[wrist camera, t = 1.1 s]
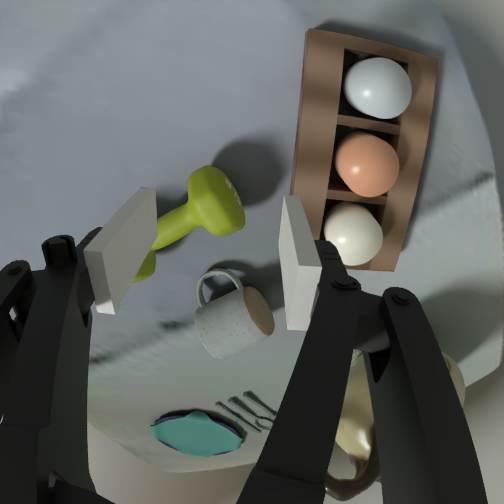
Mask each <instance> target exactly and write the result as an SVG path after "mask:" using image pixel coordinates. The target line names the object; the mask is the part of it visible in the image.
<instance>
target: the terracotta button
mask: <svg viewBox="0 0 504 504" xmlns="http://www.w3.org/2000/svg"><path fill="white" fill-rule="evenodd" d="M333 160H334V166H335V169H336V171H337V173H338V174H339V176H340V177H341V178H342V179H343V180H344V182H345V183H346V184H347V185H348V187H349V188H350V189H351V190H352V191H353V192H355V193H356V194H358V195H361V196H365V197H375V196H379V195H381V194H383V193H385V192H387V191H388V190H389V189H390V188H391V187H392V186H393V185H394V183H395V181H396V179H397V177H398V174H399V159H398V156H397V154H396V152H395V150H394V149H393V147H392V146H391V145H390V144H388V143H387V142H385V141H384V140H382V139H380V138H378V137H376V136H374V135H372V134H370V133H367V132H361V131H359V132H353V133H350V134H348V135H346V136H345V137H343V138H342V139H341V140H340V141H339V143H338V144H337V146H336V148H335V151H334V157H333Z"/></svg>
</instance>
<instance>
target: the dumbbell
mask: <svg viewBox="0 0 504 504" xmlns="http://www.w3.org/2000/svg"><path fill="white" fill-rule="evenodd" d="M187 189H188V201H187V203H186V204H184V205H182V206H180V207H178V208H176V209H174V210H172V211H170V212H168V213H166V214H165V215H163V216H161V217H160V218H158V219H157V227H158V237H157V239H156V240H155V242H154V244H153V245H152V247H151V249H150V251H149V252H148V254H147V256H146V258H145V259H144V261H143V263H142V265H141V267H140V268H139V270H138V272H137V274H136V276H135V278H134V279H133V281H132V283H134V282H138V281H141V280H144V279H146V278H148V277H149V276H151V275H152V274H153V273H154V271H155V267H156V256H155V251H156V250H158V249H160V248H163V247H165V246H167V245H169V244H171V243H173V242H174V241H176V240H178V239H180V238H182V237H183V236H185V235H187V234H188V233H190V232H191V231H193V230H194V229H195V228H197V227H199V226H204V227H205V228H206V229H207V230H208V231H209V232H211V233H212V234H215V235H218V236H226V235H230V234H232V233H235V232H237V231H239V230H240V229H242V228H243V227H244V225H245V214H244V210H243V206H242V202H241V199H240V197H239V195H238V193H237V191H236V189H235V187H234V186H233V184H232V183H231V181H230V180H229V178H228V177H227V176H226V175H225V173H223V172H222V171H221V170H219V169H217V168H215V167H213V166H209V165H208V166H203V167H201V168H200V169H198V170H196V171H195V172H193V173H192V174H191V175H190V176H189V178H188V181H187Z"/></svg>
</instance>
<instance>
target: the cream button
mask: <svg viewBox="0 0 504 504" xmlns="http://www.w3.org/2000/svg"><path fill="white" fill-rule="evenodd" d="M323 233H324V236H325V238H326V241H330V242H331V243H332V244H334V245H335V246H336V247H337V249H338V252H339V255H340V257H341V259H342V261H343V264H345V265H350V266H355V265H361V264H364V263H366V262H368V261H369V260H371V259H372V258H373V257H374V256H375V255H376V254H377V253H378V251H379V250H380V248H381V245H382V241H383V233H382V229H381V227H380V225H379V224H378V222H377V221H376V220H375V218H374V217H373V216H372V214H371V213H370V212H369V211H368V209H367V208H366V207H365V206H364V205H362V204H360V203H358V202H354V201H345V202H341V203H339V204H337V205H335V206H333V207H332V208H331V209H330V210H329V211H328V213H327V214H326V216H325V218H324V221H323Z"/></svg>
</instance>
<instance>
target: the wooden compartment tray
mask: <svg viewBox="0 0 504 504" xmlns="http://www.w3.org/2000/svg"><path fill="white" fill-rule="evenodd" d="M344 52H347V53H352V54H357V55H362V56H367V57H371V58H387V59H390V60H392V61H394V62H396V63H397V64H399V65H400V66H401V67H402V68H403V69H404V70H405V72H406V73H407V75H408V77H409V79H410V82H411V87H412V95H411V100H410V103H409V105H408V106H407V108H406V109H405V110H404V112H402V113H401V114H400V115H398V116H396V117H394V118H391V122H387V121H382V120H377V119H371V118H366V117H360V116H355V115H349V114H342V113H338V108H339V99H340V90H341V80H342V70H343V59H344ZM437 63H438V59H435V58H432V57H429V56H426V55H423V54H420V53H417V52H414V51H411V50H407V49H404V48H400V47H397V46H393V45H390V44H386V43H382V42H378V41H374V40H370V39H365V38H361V37H356V36H352V35H347V34H341V33H336V32H330V31H324V30H318V29H311V28H310V29H309V30H308V31H307V32H306V33H305V46H304V58H303V70H302V81H301V92H300V103H299V113H298V123H297V133H296V143H295V152H294V161H293V170H292V179H291V188H290V195H292V196H299V197H300V200H301V203H302V206H303V209H304V212H305V215H306V218H307V221H308V224H309V227H310V230H311V233H312V236H313V239H314V240H319V237H320V231H321V225H322V220H323V214H324V208H325V201H326V199H336V200H345V201H354V202H363V203H371V204H375V209H374V213H373V217H374V218H375V220H376V221H377V222H378V224H379V225H380V227H381V229H382V233H383V241H382V245H381V248H380V250H379V251H378V253H377V254H376V255H375V256H374V257H373V258H372V259H371V260H369V261H368V262H366V263H364V264H361V265H355V266H350V265H345V264H344V266H345V269H354V270H372V271H390V272H394V270H395V267H396V264H397V261H398V258H399V254H400V251H401V248H402V244H403V241H404V238H405V234H406V230H407V227H408V223H409V219H410V216H411V212H412V208H413V204H414V200H415V196H416V192H417V187H418V183H419V179H420V174H421V169H422V165H423V160H424V155H425V149H426V144H427V139H428V133H429V127H430V121H431V114H432V107H433V100H434V92H435V83H436V74H437ZM336 124H339V125H346V126H352V127H358V128H364V129H370V130H375V131H381V132H386V133H389V135H388V141H387V143H388V144H390V145H391V146H392V147H393V149H394V150H395V152H396V154H397V156H398V159H399V174H398V177H397V179H396V181H395V183H394V185H393V186H392V187H391V188H390V189H389V190H388V191H387V192H385V193H383V194H381V195H379V196H375V197H365V196H361V195H358V194H356V193H355V192H353V191H352V190H351V189H350V188H349V187H348V185H347V184H343V183H335V182H329V176H330V169H331V162H332V155H333V148H334V140H335V132H336Z"/></svg>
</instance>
